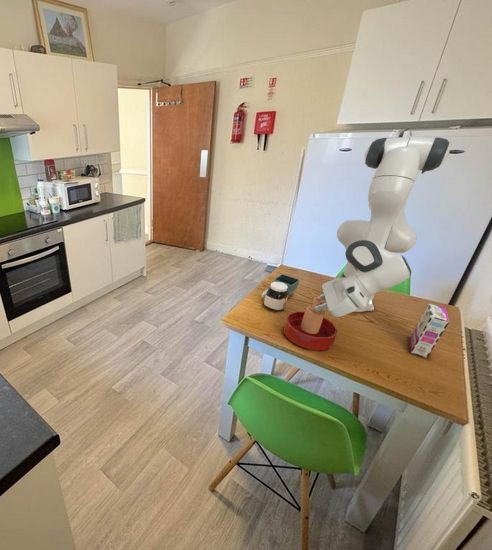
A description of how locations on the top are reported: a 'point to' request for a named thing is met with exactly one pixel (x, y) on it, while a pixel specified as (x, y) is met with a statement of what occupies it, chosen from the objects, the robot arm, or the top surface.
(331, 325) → the bowl
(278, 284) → the spread jar
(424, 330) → the candy bar box
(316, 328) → the bottle
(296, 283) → the flower pot
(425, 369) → the top surface
